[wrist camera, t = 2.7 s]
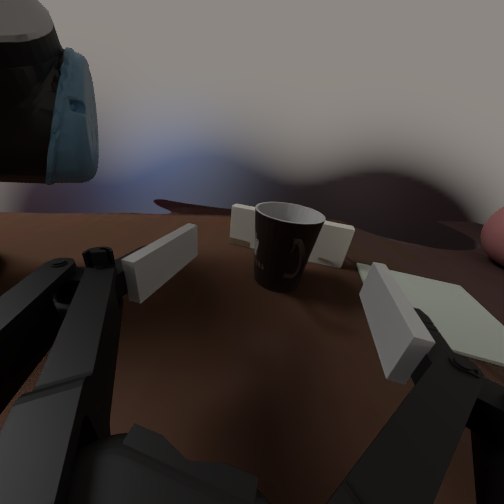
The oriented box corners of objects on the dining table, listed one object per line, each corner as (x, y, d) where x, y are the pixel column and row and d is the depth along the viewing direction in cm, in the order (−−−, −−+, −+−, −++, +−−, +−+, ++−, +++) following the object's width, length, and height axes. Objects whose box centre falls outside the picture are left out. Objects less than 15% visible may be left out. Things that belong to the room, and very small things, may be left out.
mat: (380, 332, 23) (382, 330, 23) (356, 264, 37) (357, 262, 37) (557, 381, 20) (560, 379, 20) (458, 287, 34) (460, 285, 34)
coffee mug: (258, 257, 35) (267, 198, 30) (309, 272, 33) (327, 211, 28) (225, 297, 25) (231, 218, 21) (294, 323, 23) (319, 240, 18)
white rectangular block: (229, 243, 39) (232, 206, 35) (236, 235, 42) (239, 201, 39) (340, 268, 35) (354, 230, 32) (338, 258, 38) (351, 222, 35)
